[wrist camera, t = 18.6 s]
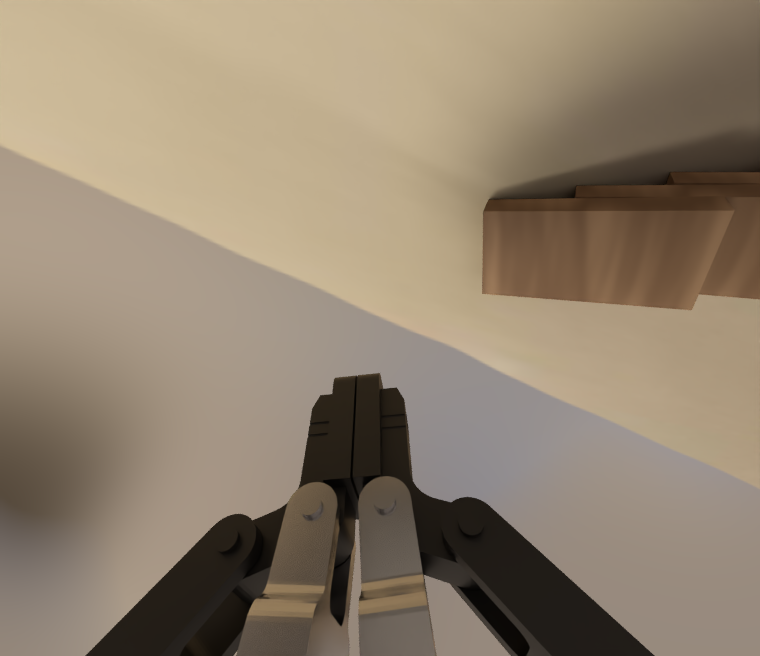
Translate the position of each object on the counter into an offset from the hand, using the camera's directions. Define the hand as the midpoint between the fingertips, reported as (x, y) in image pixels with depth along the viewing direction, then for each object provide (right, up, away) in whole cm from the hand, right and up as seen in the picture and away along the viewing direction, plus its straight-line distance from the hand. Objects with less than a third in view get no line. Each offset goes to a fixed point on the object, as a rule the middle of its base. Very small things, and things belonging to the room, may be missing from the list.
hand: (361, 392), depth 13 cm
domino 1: (+7, +7, +8) cm, 13 cm away
